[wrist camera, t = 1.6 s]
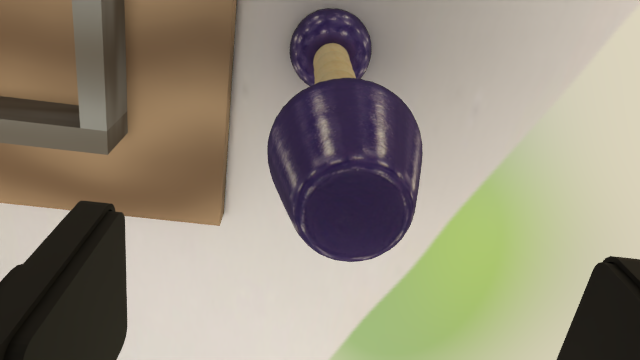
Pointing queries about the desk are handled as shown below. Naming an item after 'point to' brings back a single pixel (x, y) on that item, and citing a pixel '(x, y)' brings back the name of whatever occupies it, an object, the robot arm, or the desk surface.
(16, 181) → the socket board
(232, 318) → the desk surface
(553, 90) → the desk surface
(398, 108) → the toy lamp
